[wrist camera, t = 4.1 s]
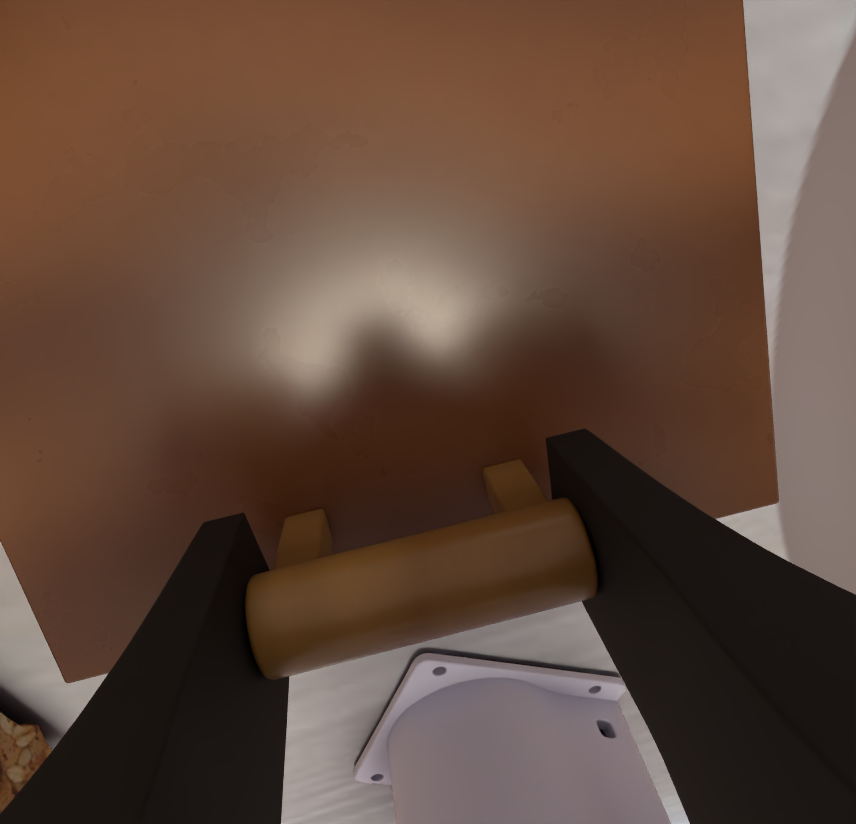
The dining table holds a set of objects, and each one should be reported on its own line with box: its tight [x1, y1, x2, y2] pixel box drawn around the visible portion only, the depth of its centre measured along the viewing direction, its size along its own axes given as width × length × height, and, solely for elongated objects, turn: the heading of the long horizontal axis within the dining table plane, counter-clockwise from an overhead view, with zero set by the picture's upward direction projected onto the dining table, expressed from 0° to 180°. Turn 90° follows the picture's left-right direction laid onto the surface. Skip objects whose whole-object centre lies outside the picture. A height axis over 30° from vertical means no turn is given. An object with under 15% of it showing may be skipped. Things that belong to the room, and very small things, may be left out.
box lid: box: [0, 0, 779, 683], centre depth 9 cm, size 11×13×4 cm
